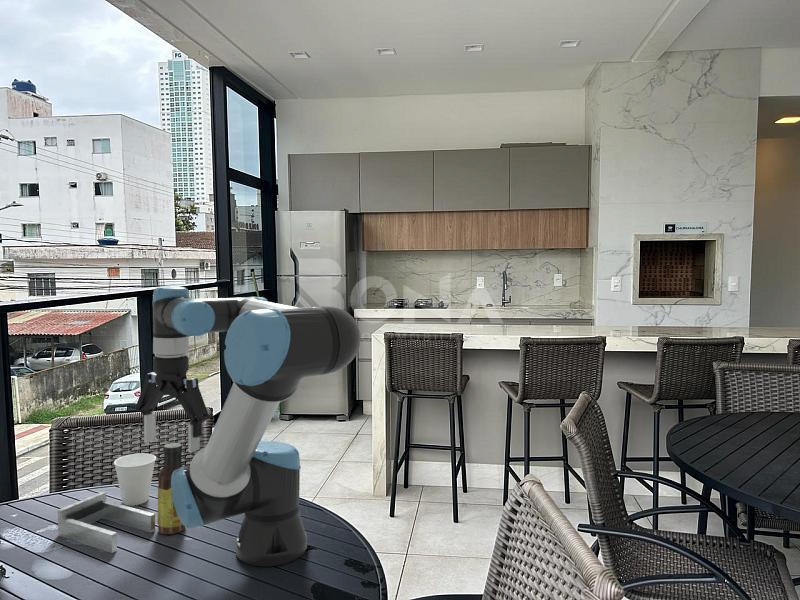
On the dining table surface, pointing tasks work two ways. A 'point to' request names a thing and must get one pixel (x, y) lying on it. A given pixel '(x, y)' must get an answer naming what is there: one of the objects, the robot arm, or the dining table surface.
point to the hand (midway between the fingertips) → (171, 446)
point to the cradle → (94, 508)
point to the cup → (135, 477)
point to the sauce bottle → (168, 491)
